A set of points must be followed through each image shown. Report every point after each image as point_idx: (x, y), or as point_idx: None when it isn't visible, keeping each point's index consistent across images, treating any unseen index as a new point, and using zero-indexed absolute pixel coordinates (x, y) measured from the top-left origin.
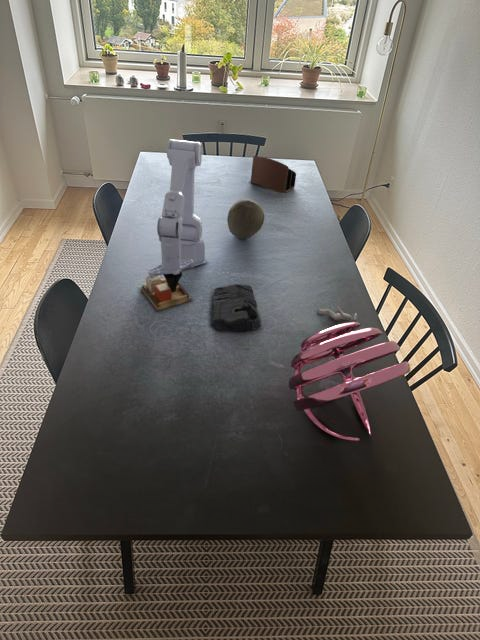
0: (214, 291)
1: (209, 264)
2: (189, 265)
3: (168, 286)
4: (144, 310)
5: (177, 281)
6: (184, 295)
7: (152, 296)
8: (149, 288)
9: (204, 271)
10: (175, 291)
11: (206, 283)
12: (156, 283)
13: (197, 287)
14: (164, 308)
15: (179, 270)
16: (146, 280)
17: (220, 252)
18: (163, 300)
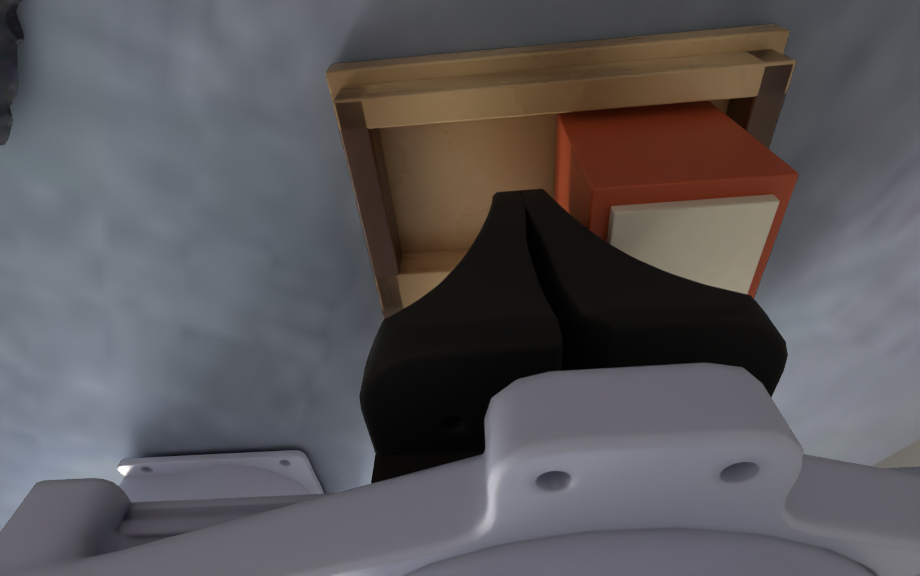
0: (6, 101)
1: (91, 443)
2: (90, 563)
3: None
4: (876, 92)
5: (480, 267)
6: (392, 117)
7: None
8: None
9: (134, 396)
10: (449, 247)
11: (120, 268)
12: None
13: (217, 245)
14: (677, 33)
15: (449, 499)
16: None
17: (12, 507)
18: (678, 117)
